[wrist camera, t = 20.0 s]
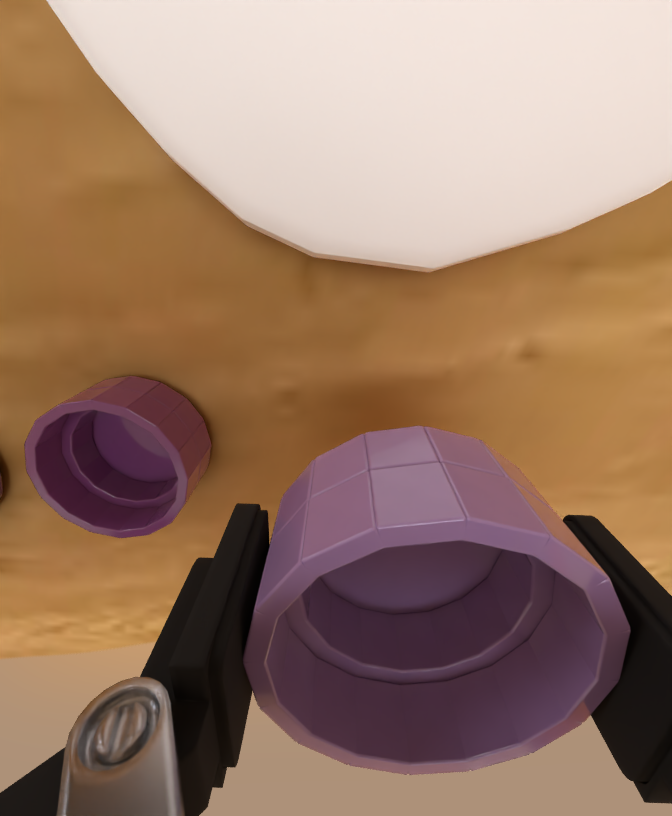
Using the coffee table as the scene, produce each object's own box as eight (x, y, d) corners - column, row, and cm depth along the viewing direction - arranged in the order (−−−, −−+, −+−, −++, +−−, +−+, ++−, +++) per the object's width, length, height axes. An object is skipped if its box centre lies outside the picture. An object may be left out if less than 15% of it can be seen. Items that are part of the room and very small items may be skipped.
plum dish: (110, 496, 21) (65, 544, 18) (59, 383, 19) (-6, 413, 15) (228, 482, 21) (205, 529, 17) (192, 364, 18) (157, 390, 15)
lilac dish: (301, 627, 12) (285, 783, 8) (252, 436, 9) (199, 545, 6) (522, 608, 11) (602, 764, 8) (536, 400, 9) (662, 497, 5)
